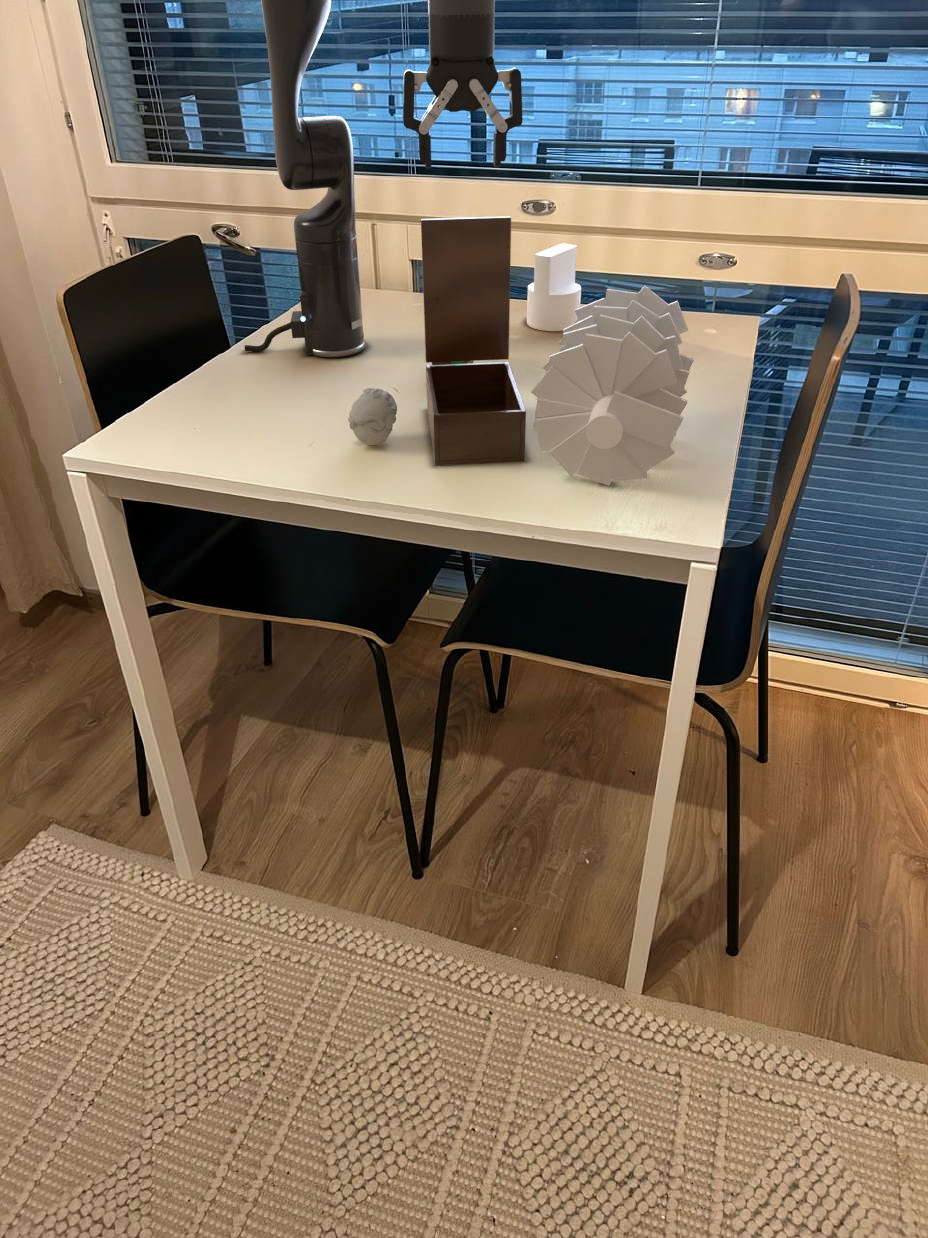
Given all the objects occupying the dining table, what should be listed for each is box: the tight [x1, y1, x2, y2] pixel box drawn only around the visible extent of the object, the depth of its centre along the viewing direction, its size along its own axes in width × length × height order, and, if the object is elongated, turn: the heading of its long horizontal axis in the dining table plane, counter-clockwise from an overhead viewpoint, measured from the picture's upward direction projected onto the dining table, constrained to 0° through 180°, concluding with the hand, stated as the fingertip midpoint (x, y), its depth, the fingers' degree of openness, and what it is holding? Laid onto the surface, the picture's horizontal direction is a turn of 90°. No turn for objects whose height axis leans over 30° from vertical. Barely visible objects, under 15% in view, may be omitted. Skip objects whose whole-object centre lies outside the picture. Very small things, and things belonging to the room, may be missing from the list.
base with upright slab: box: [526, 243, 582, 332], centre depth 157 cm, size 9×9×12 cm
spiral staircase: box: [530, 285, 695, 487], centre depth 113 cm, size 18×18×25 cm
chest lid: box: [420, 215, 512, 364], centre depth 122 cm, size 18×11×5 cm
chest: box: [425, 361, 527, 466], centre depth 121 cm, size 17×11×7 cm, turn 5°
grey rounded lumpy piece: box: [347, 387, 398, 446], centre depth 119 cm, size 6×7×7 cm
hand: (462, 166), depth 115 cm, fingers open, 8 cm apart
